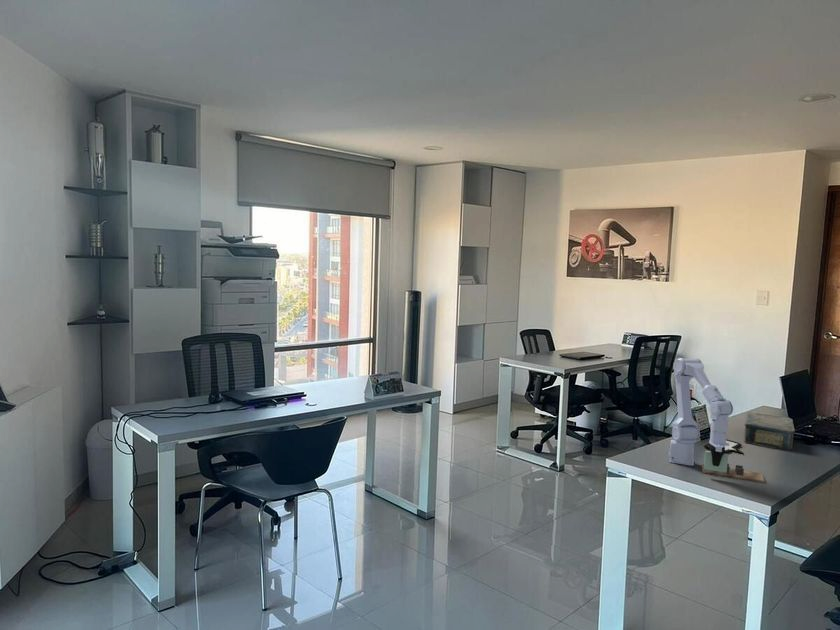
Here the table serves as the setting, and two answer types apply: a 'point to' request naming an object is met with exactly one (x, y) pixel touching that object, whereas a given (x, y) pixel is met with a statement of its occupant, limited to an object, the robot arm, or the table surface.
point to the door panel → (720, 468)
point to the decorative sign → (729, 447)
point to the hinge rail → (737, 473)
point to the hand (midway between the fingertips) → (715, 464)
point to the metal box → (769, 430)
